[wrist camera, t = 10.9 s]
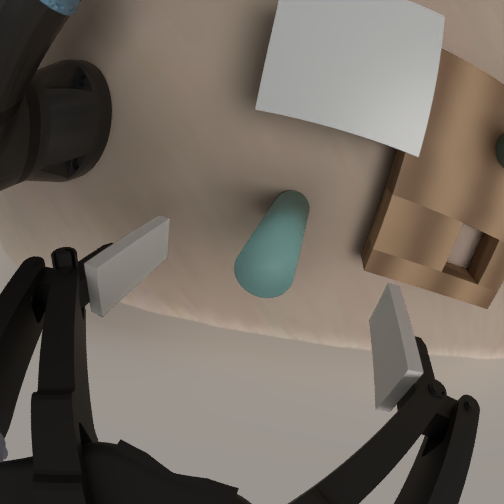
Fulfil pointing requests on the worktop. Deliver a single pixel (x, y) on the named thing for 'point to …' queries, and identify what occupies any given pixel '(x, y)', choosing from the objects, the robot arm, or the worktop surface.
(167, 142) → the worktop surface
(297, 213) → the peg
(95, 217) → the worktop surface
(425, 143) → the board
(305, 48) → the grey square block
